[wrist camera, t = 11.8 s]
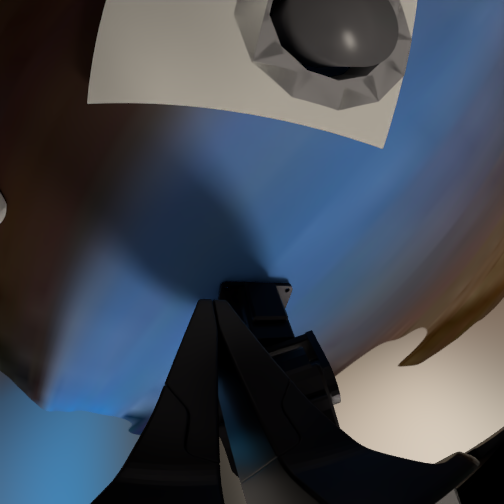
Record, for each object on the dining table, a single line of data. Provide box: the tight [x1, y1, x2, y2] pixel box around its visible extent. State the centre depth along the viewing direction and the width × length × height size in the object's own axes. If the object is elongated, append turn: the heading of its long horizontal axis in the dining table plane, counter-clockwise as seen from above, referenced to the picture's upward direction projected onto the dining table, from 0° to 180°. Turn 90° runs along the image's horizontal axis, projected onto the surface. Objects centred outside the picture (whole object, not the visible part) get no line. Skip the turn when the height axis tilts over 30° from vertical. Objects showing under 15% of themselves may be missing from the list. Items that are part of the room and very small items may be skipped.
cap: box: [271, 0, 399, 67], centre depth 11 cm, size 6×6×5 cm
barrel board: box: [87, 0, 417, 149], centre depth 11 cm, size 14×18×3 cm
